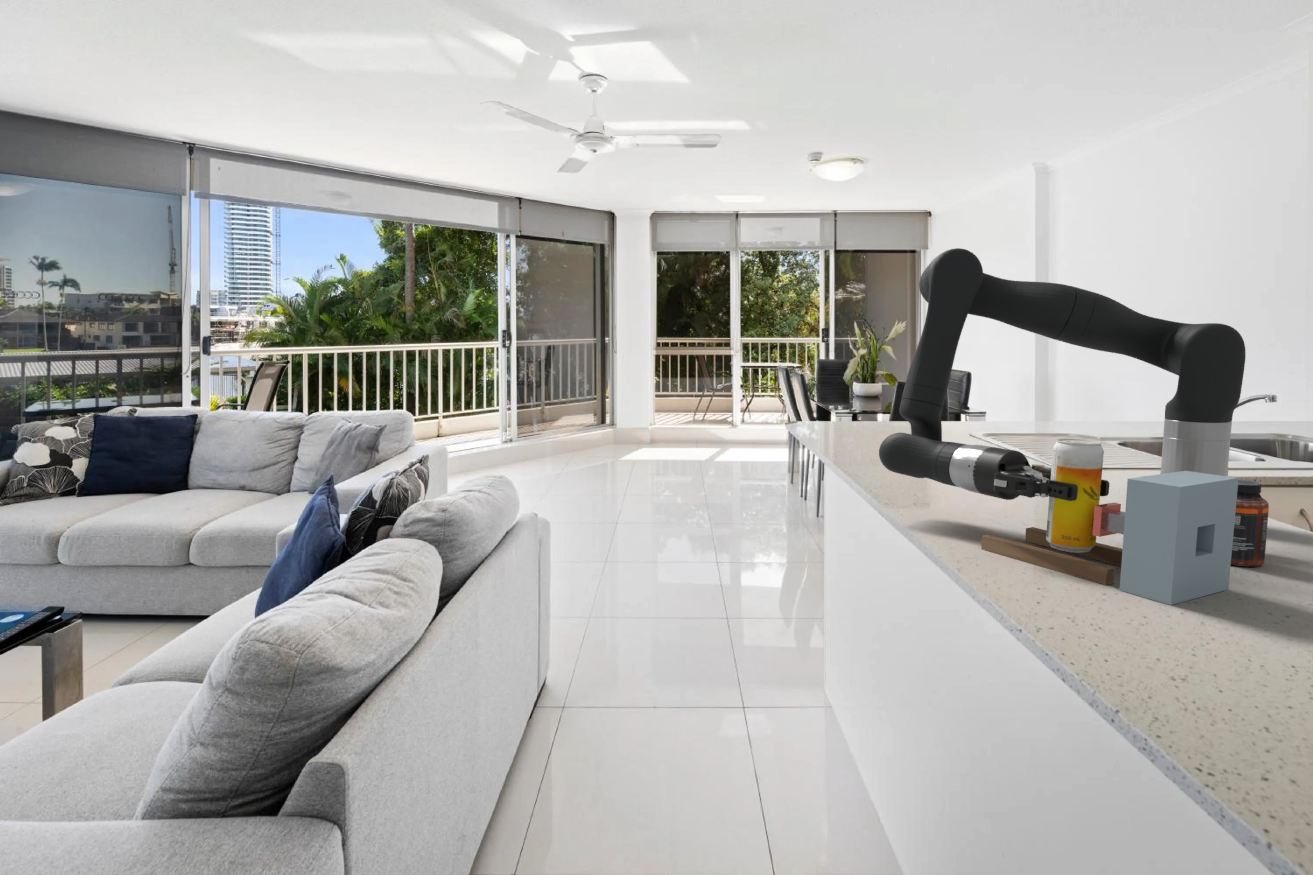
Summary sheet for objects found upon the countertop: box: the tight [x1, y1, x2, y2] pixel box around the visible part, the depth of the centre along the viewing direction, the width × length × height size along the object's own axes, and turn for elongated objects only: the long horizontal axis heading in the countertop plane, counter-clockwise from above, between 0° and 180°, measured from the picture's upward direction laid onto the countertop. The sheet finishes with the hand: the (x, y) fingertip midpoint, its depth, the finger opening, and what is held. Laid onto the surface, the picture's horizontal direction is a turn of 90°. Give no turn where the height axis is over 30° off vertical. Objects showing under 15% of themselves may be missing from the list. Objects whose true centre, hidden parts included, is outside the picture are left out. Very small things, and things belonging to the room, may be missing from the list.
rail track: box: [980, 526, 1123, 586], centre depth 106 cm, size 11×19×2 cm, turn 26°
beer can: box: [1046, 438, 1105, 553], centre depth 104 cm, size 6×6×15 cm
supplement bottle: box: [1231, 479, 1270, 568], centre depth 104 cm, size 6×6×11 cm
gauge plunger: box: [1093, 502, 1125, 538], centre depth 96 cm, size 4×10×4 cm, turn 26°
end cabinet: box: [1119, 471, 1240, 606], centre depth 92 cm, size 12×6×14 cm, turn 116°
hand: (1091, 490), depth 102 cm, fingers closed on beer can, 6 cm apart
